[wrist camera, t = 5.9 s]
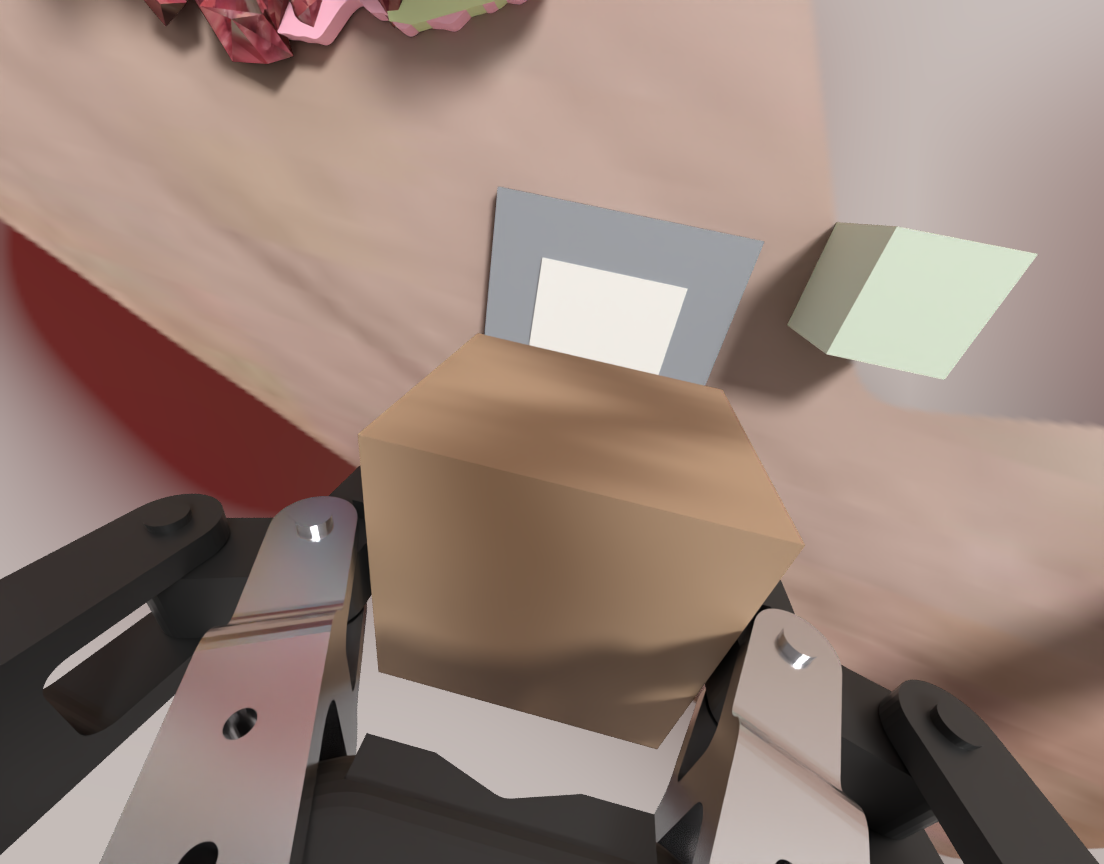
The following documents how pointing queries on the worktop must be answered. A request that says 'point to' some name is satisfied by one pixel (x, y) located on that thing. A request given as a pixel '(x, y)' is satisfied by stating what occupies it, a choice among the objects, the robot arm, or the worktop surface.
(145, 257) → the worktop surface
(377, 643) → the walnut block
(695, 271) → the pad
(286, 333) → the worktop surface
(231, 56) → the candy landscape model
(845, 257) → the sage cube
